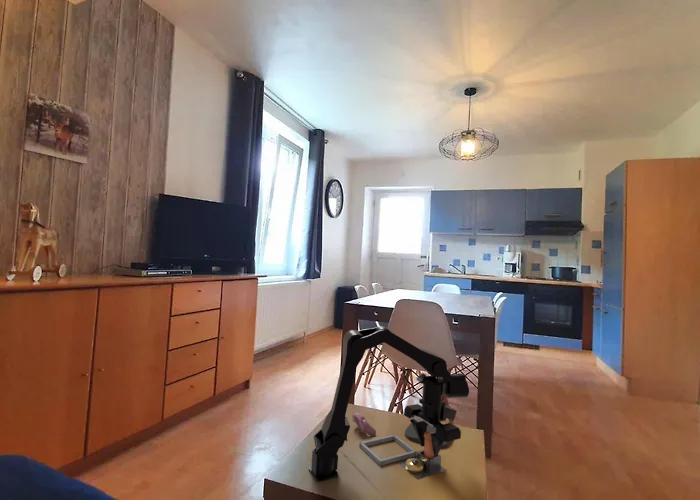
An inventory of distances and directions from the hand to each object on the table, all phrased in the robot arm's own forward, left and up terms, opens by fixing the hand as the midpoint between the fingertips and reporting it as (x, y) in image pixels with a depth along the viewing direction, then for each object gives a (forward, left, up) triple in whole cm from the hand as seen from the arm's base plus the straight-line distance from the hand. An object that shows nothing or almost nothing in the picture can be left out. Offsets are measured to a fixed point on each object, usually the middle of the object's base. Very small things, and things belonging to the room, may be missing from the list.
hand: (429, 450), depth 107 cm
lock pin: (0, 0, -4) cm, 4 cm away
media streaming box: (+13, +14, -6) cm, 20 cm away
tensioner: (-2, 0, -5) cm, 6 cm away
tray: (-7, +11, -5) cm, 14 cm away
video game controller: (-6, +27, -5) cm, 28 cm away
